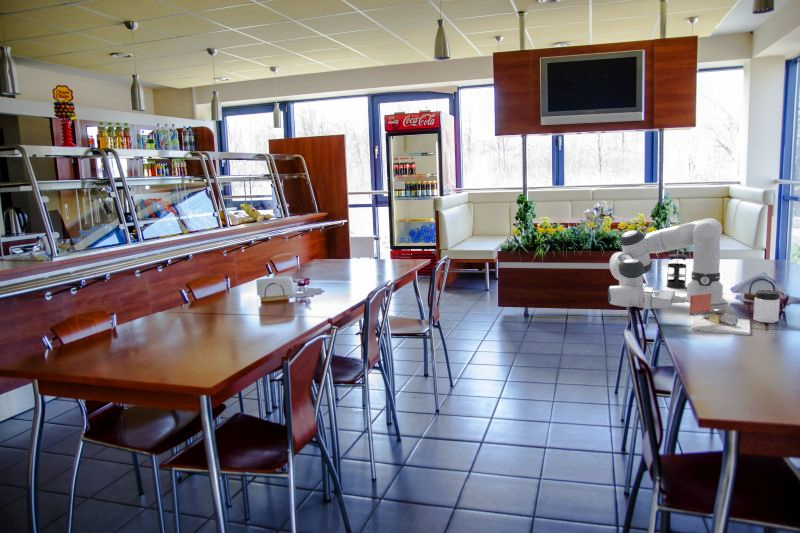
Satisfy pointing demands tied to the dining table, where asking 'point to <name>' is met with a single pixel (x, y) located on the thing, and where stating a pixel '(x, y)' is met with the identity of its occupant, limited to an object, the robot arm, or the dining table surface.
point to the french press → (676, 272)
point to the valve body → (721, 318)
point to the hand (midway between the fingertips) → (685, 300)
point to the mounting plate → (721, 326)
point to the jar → (766, 306)
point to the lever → (702, 305)
